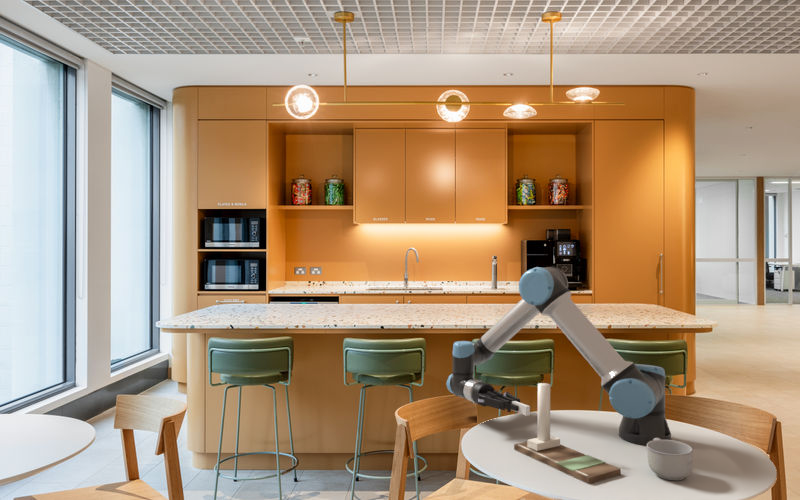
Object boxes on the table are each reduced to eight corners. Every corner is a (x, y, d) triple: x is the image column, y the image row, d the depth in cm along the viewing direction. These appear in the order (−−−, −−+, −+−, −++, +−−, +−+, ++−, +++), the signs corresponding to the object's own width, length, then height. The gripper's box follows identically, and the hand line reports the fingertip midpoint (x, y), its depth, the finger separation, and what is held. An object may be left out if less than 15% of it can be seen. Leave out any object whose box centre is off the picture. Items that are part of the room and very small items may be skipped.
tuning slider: (527, 446, 162) (527, 384, 162) (550, 441, 167) (550, 381, 167) (537, 450, 159) (537, 387, 159) (560, 445, 163) (560, 384, 163)
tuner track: (514, 449, 165) (514, 443, 165) (544, 442, 171) (544, 437, 171) (588, 483, 141) (588, 477, 141) (620, 474, 147) (620, 468, 147)
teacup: (698, 486, 140) (698, 454, 140) (651, 482, 142) (652, 450, 142) (681, 465, 154) (681, 436, 154) (639, 462, 156) (639, 433, 156)
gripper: (494, 401, 192) (543, 420, 172) (464, 406, 186) (511, 426, 165) (495, 379, 192) (544, 395, 172) (464, 383, 186) (511, 401, 165)
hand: (527, 410), depth 169 cm, fingers closed
